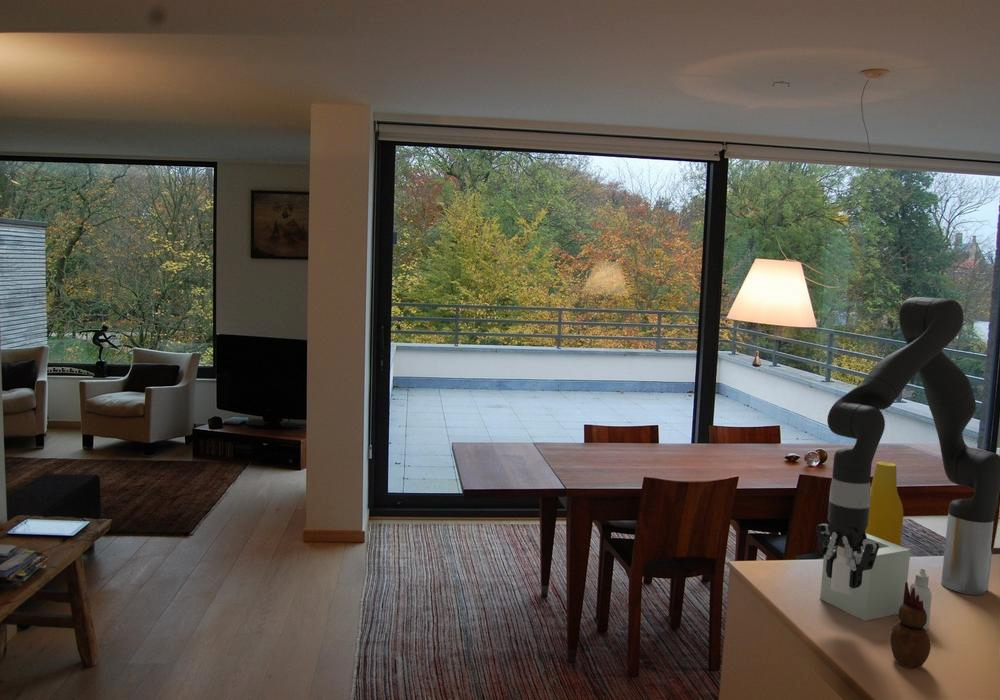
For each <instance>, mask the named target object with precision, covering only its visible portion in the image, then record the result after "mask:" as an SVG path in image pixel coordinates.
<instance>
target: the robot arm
mask: <svg viewBox="0 0 1000 700" xmlns="http://www.w3.org/2000/svg"><path fill="white" fill-rule="evenodd" d="M898 322H899V327H900V330H901V333H902V336H903V339H904V341H905V343H906V345H905V346H903V347H901V348H900V349H897V350H896V351H894V352H892V353H889V355H887V356H885V357H884V358H882V359H881V360H880V361H879V362H877V363H876V364H875V365H874V367H873V368H872V369H871V370H870V372H868V374H867V376H866V377H865V378H864V379H863V380H862V382H861V383H860V384H859V385H857V386H855V387H854V388H852V389H851V390H850V391H848V392H847V393H845V394H844V395H843V396H841V397H840V398H838V400H836V401H835V402H834V403H833V405H832V406H831V407H830V409H829V412H828V414H827V421H826V422H827V427H828V428H829V430H830V431H831V432H832V433H833V434H835V435H837V436H841V437H845V438H849V439H854V440H856V441H855V443H854V446H853V448H850V447H849V448H840V449H838V450H836V451H835V454H834V455H833V467H832V478H831V484H830V487H829V488H830V489H829V501H828V509H827V510H828V512H827V513H828V514H827V520H828V522H829V523H820V524H816V525H815V529H816V537H817V548H818V549H817V550H818V552H819V554H821V555H823V556H824V555H825V557H826V559H827V563H826V573H827V577H829V578H832V567H833V561H834V559H836V558H837V546H838V545H839V546H841V547H844V548H845V549H846V554H847V558H848V559H849V560H850V564H851V568H852V570H851V571H850V583H849V586H850V587H851V588H858V587H859V586H861V584H862V573H863V571H865V570H870V569H872V568H873V565H874V562H875V558H876V555H877V552H878V549H879V544H878V543H877V542H875V543H872V542H871V541H869V540H868V539H867V536H866V533H865V530H866V528H867V526H868V520H869V508H870V496H871V490H870V488H871V474H872V464H873V460H874V458H875V455H876V452H877V449H878V448H879V447H878V446H879V444H880V441H881V439H882V437H883V434H884V431H885V427H886V421H885V416H884V414H883V412H882V411H881V410H886V409H888V408H890V407H891V406H892V405H893V404H894V403H895V401H896V399H897V398H898V397H899V396H900V394H901V393H902V391H904V389H905V387H906V386H907V385H908V384H909V383H910V381H911V380H912V379H913V378H914V377H915V375H917V373H918V375H919V377H920V381H921V383H922V386H923V391H924V394H925V395H924V396H925V398H926V400H927V401H926V402H927V403H928V404H927V405H928V407H929V410H930V413H931V416H932V419H933V423H934V426H935V429H936V433H937V437H938V442H939V446H940V447H939V448H940V455H941V460H942V465H943V470H944V473H945V476H946V477H947V479H948V480H949V481H950V483H953V484H955V485H958V486H961V487H966V488H970V489H973V490H974V492H973V496H972V497H970V498H962V499H961V498H959V499H955V500H954V499H953V500H951V501H950V502H949V506H948V514H947V522H946V523H947V525H946V533H945V543H944V552H943V562H942V572H941V582H940V583H941V585H942V586H943V587H945V588H947V589H949V590H952V591H955V592H958V593H962V594H967V595H973V596H974V595H975V596H977V595H984V594H986V593H987V590H989V584H990V576H991V575H990V573H991V564H992V556H993V551H992V549H991V548H992V541H993V539H992V538H993V530H994V521H995V514H996V511H997V507H998V504H999V497H1000V455H999V454H998V453H995V452H992V451H988V450H984V449H978V448H974V447H969V446H968V445H967V444H966V442H965V440H964V436H963V433H964V430H965V429H966V427H967V426H968V424H969V423H970V421H971V420H972V418H973V417H974V415H975V411H976V409H977V405H976V404H977V403H976V398H975V395H974V391H973V387H972V384H971V381H970V379H969V378H968V376H967V375H966V374H965V372H964V371H963V370H962V369H961V368H960V367H959V366H958V365H957V364H956V363H954V361H953V360H951V358H950V357H949V356H948V355H946V354H945V352H944V351H943V350H944V348H946V347H947V346H948V345H949V344H950V343H951V342H952V341H954V340H955V338H956V337H957V336H958V334H959V333H960V331H961V329H962V327H963V323H964V312H963V308H962V306H961V304H960V303H959V302H958V301H957V300H955V299H951V298H944V297H943V298H942V297H924V296H923V297H922V296H914V297H910V298H907V299H906V300H904V301H903V302H902V304H901V306H900V308H899V312H898ZM830 537H831V540H830ZM862 545H864V548H862ZM863 550H864V552H863ZM855 551H857V552H856V554H853V552H855ZM856 559H857V562H856ZM857 563H858V564H857Z"/></svg>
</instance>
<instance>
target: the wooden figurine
mask: <svg viewBox="0 0 1000 700" xmlns="http://www.w3.org/2000/svg"><path fill="white" fill-rule="evenodd" d="M909 593H910V587H909V584H908V581H907V582H906V583H905V590H904V599H903V604H902V605H901V606H900V608H899V613H898V614H897V615H898V621H896V622H895V623H894V625H893V626H892V629H891V631H890V637H889V639H890V641H889V643H890V648H891V652H892V655H893V657H894V660H896V662H897V663H898V664H900V665H902V666H905V667H907V668H910V669H917V668H922V667H923V665H924V664H925V662H927V660H928V658H929V656H930V652H931V646H932V645H931V639H930V635H929V634H928V632H927V631H926V630H927V629H924V628H923V627H924V626H925V624H926V622H927V614H926V611H925V609H924V607H923V601H920V602H919V595H917V596H916V599H915V588H912V592H911V595H910V594H909Z"/></svg>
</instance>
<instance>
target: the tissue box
mask: <svg viewBox="0 0 1000 700" xmlns="http://www.w3.org/2000/svg"><path fill="white" fill-rule="evenodd" d="M866 536H867V539H868V540H869V541H871V542H872V543H875V542H877V543H878V544H879V549H878V552H877V555H876V558H875V562H874V565H873V568H872V569H870V570H865V571H863V573H862V584H861V586H859V587H858V588H854V590H853V592H852V594H851V595H846V594H842V593H837V592H833V591H832V590H831V580H832V578H829V577H827V573H826V563H827V559H826V557H825V555H824V554H823V562H822V574H821V583H820V585H821V586H820V594H819V596H820V597H819V599H820V600H822V601H824V602H826V603H827V604H830V605H832V606H834V607H836V608H838V609H840V610H842V611H845V612H847V613H848V614H850V615H853V616H855V617H856V616H857V618H858V617H859V618H858V619H860V618H861V620H863V621H865V622H867V621H871V620H876V619H880V618H886V617H889V616H895V615H898V613H899V608H900V606H901V605H902V604H903V599H904V590H905V583H906V582H907V583H908V579H909V571H910V570H909V569H910V559H911V549H909V548H907V547H904V546H901V545H900V546H899V545H896V544H893V543H891V542H888V541H885V540H883V539H880V538H877V537H875V536H872V535H869V534H866ZM830 540H831V536H830ZM862 548H864V545H862ZM856 552H857V551H855V552H854V554H856ZM863 552H864V550H863ZM856 562H857V559H856ZM857 564H858V563H857Z"/></svg>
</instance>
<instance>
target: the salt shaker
mask: <svg viewBox="0 0 1000 700" xmlns="http://www.w3.org/2000/svg"><path fill="white" fill-rule="evenodd" d="M853 554H854V552H853ZM851 570H852V568H851V564H850V560H849V559H848V558H847V554H846V549H845V548H844V547H841V546H839V545H838V546H837V558H836V559H834V561H833V567H832V580H831V590H832V591H833V592H837V593H842V594H846V595H851V594H852V592H853V590H854V588H851V587H850V586H849V583H850V571H851Z"/></svg>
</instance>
